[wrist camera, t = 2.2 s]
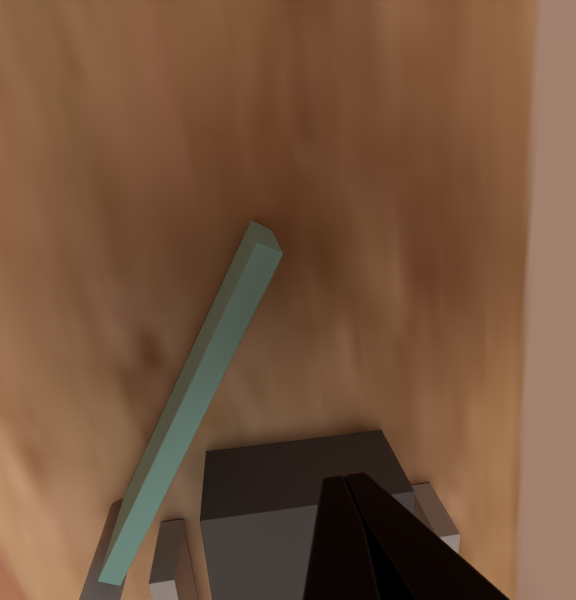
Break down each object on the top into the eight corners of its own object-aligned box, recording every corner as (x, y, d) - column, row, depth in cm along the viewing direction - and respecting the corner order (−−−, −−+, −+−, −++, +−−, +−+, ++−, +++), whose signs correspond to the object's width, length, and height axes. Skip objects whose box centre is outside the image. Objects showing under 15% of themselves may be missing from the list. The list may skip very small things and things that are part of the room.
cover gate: (271, 229, 16) (283, 254, 12) (142, 499, 19) (120, 586, 15) (251, 219, 15) (257, 242, 12) (124, 494, 19) (97, 581, 15)
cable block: (377, 510, 22) (408, 586, 18) (218, 533, 21) (214, 617, 17) (379, 427, 20) (414, 491, 16) (206, 448, 19) (199, 521, 15)
